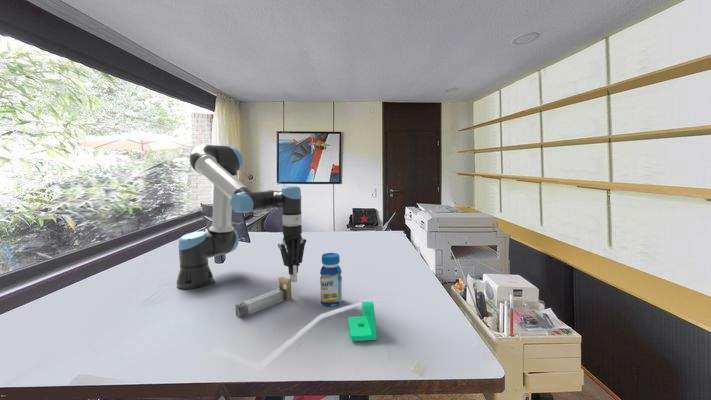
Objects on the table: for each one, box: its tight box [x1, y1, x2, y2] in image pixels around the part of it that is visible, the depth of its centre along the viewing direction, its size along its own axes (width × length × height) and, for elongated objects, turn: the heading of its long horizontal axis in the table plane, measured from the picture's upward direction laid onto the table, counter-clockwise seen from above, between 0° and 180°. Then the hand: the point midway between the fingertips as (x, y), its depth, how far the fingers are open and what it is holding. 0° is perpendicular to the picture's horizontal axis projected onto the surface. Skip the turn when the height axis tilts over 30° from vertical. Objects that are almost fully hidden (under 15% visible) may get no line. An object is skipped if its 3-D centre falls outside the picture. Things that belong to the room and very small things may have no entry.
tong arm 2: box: [237, 290, 284, 319], centre depth 109 cm, size 18×2×4 cm, turn 140°
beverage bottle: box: [319, 252, 343, 310], centre depth 113 cm, size 8×8×20 cm
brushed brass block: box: [277, 276, 293, 302], centre depth 117 cm, size 6×2×8 cm, turn 50°
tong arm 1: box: [235, 288, 279, 317], centre depth 110 cm, size 18×2×4 cm, turn 140°
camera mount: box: [347, 300, 378, 342], centre depth 94 cm, size 12×8×10 cm, turn 6°
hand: (293, 281), depth 121 cm, fingers closed
